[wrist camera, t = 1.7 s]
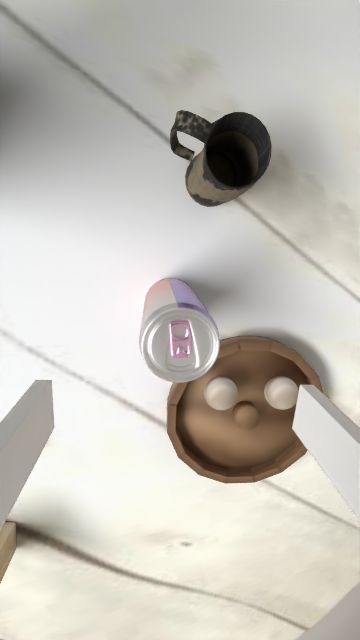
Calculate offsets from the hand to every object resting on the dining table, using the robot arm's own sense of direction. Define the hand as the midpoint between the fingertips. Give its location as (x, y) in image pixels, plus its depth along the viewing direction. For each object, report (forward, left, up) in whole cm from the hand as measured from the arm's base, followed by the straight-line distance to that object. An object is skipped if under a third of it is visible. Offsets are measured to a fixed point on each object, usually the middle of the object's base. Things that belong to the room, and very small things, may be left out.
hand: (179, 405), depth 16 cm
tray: (+13, +11, -21) cm, 27 cm away
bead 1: (+9, +7, -20) cm, 23 cm away
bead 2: (+9, +14, -20) cm, 26 cm away
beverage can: (-1, +1, -21) cm, 21 cm away
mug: (-15, +4, -21) cm, 26 cm away
